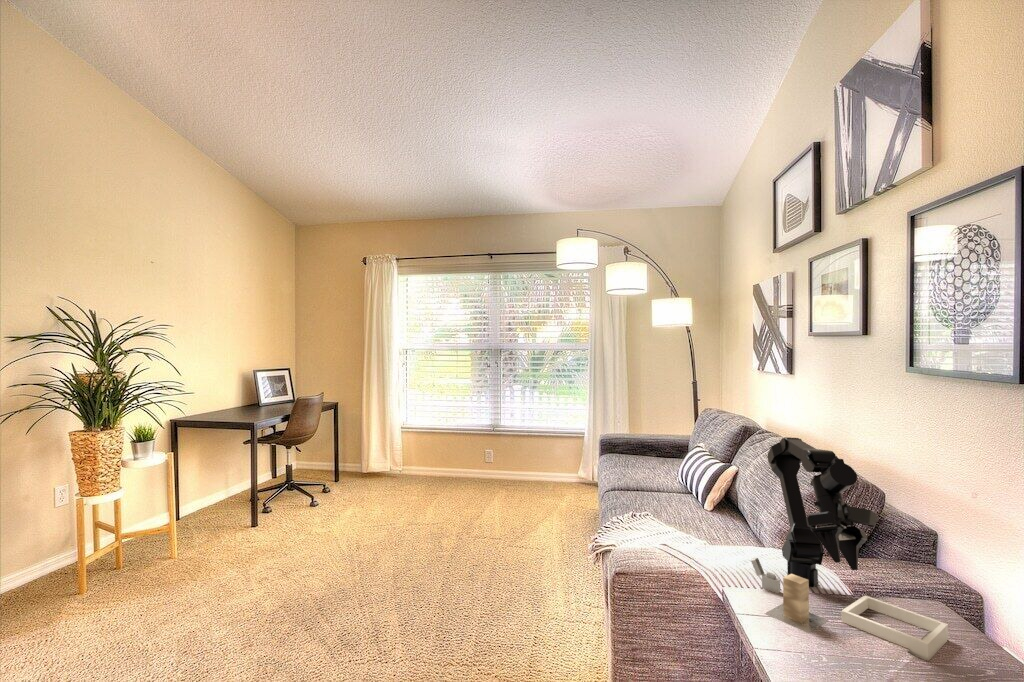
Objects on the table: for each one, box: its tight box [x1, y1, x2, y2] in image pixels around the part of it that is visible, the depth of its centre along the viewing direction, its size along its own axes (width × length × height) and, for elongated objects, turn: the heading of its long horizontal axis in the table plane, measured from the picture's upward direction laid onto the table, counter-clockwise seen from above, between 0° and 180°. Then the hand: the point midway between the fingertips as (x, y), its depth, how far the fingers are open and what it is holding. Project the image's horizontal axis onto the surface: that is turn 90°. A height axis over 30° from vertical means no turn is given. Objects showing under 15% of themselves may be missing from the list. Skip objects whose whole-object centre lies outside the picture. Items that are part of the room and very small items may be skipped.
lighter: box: [750, 557, 781, 594], centre depth 131 cm, size 7×2×8 cm, turn 38°
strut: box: [782, 574, 810, 623], centre depth 116 cm, size 4×4×9 cm
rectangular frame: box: [840, 595, 949, 662], centre depth 111 cm, size 16×14×4 cm
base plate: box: [764, 603, 829, 634], centre depth 116 cm, size 10×10×1 cm
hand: (846, 566), depth 112 cm, fingers open, 9 cm apart
